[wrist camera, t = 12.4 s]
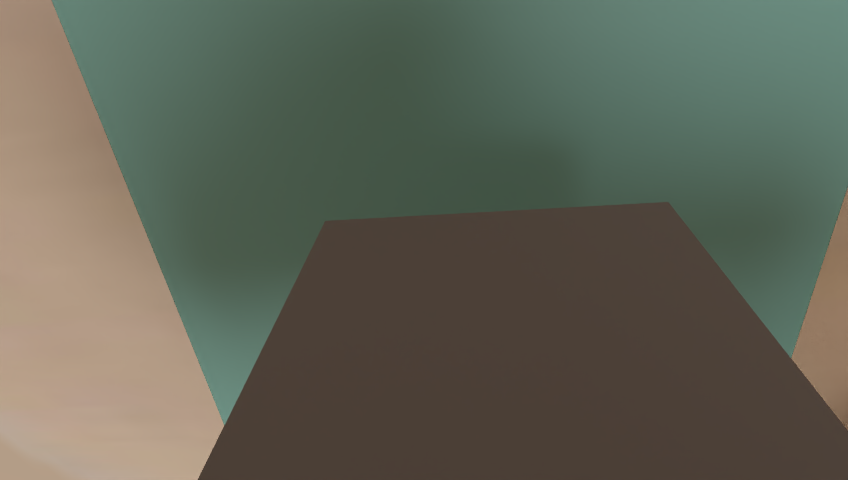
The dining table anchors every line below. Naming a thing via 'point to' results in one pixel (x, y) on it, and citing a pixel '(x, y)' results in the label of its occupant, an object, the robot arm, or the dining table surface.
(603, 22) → the lid
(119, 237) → the dining table surface
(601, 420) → the block
